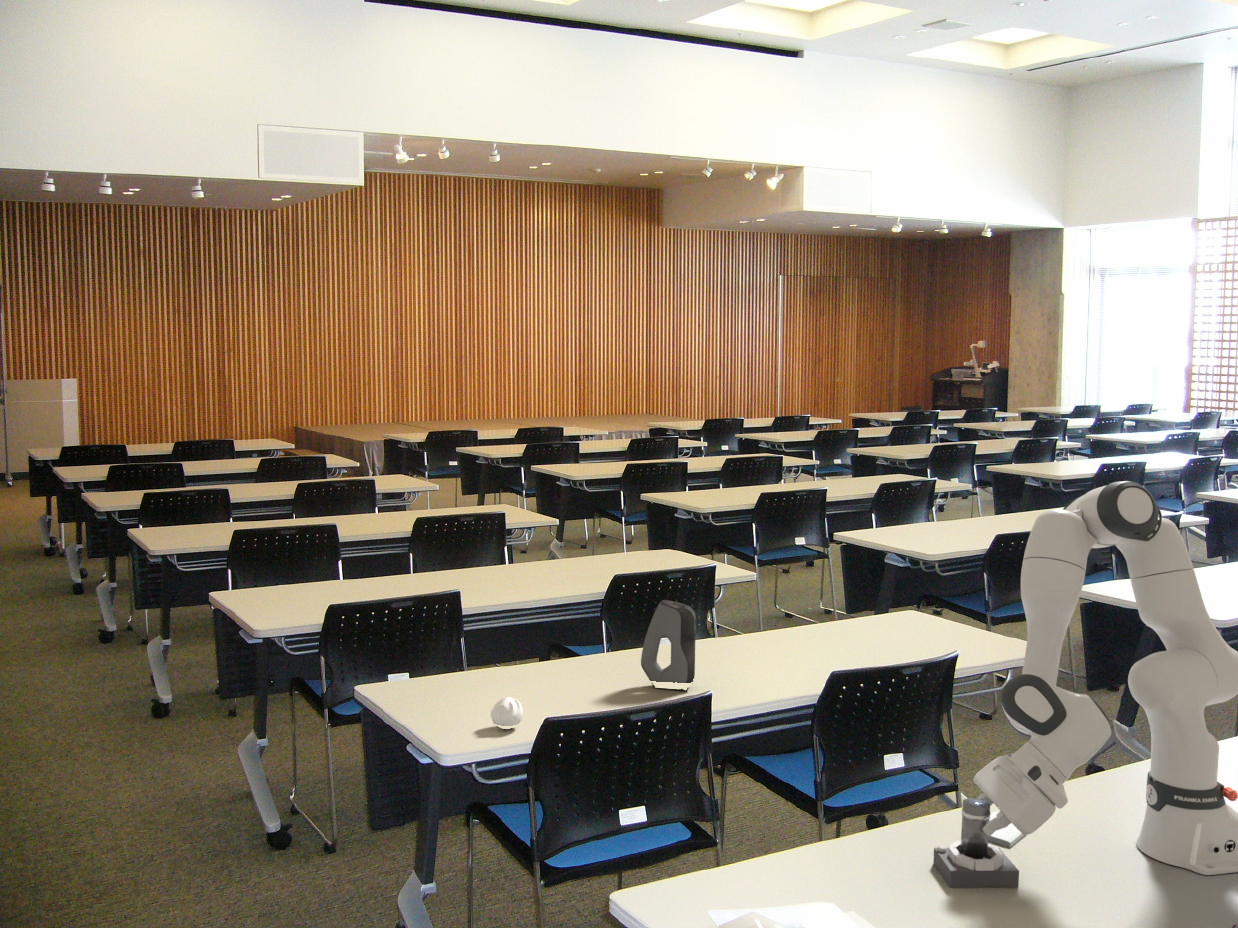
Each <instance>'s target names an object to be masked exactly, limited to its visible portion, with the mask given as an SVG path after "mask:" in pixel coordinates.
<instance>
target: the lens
mask: <svg viewBox="0 0 1238 928" xmlns="http://www.w3.org/2000/svg"><path fill="white" fill-rule="evenodd" d="M990 815H991V806H990V804H989V803H988V802H986V801H984V800H981V799H978V798H975V797H974V798H973V797H972V798H971V797H969V798H965V799H963V801H962V808H961V830H960V831H961V836H960V840H961V852H962V853H963V854H964V855H966V856H969V857H972V858H984V857H986V856H987V855H988V844H989V841H988V839H989V836H988V835H987V834H986V833H985V832H984V831H983V830H982V829H981V825H982V824H983V823H984V822H985V821H986V820H987V821H988V822H989V819H990Z"/></svg>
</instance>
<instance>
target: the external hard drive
mask: <svg viewBox="0 0 1238 928" xmlns="http://www.w3.org/2000/svg"><path fill="white" fill-rule="evenodd" d="M999 812H1000V811H994V812H993V813H990V819H989V821H990V820H992V819H994V818H996V817H997V816H996V815H997V814H998V813H999ZM1025 836H1026V835H1023V834H1022V833H1021V832H1020V831H1019V830H1018V829H1017V828H1016V827H1015V826H1014V825H1013V824H1012V823H1010V824H1009V825H1008V826H1007V827H1005V828H1002V829H1000V830H996V831H995V832H994V833H993V834H992V835H991V836H989V839H988V842H991V843H994V844H998V845H1001V846H1004V847H1007V848H1012V847H1013V846H1015V844H1016V843H1018V842H1019V841H1020V840H1021V839H1023V838H1024V837H1025Z"/></svg>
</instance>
